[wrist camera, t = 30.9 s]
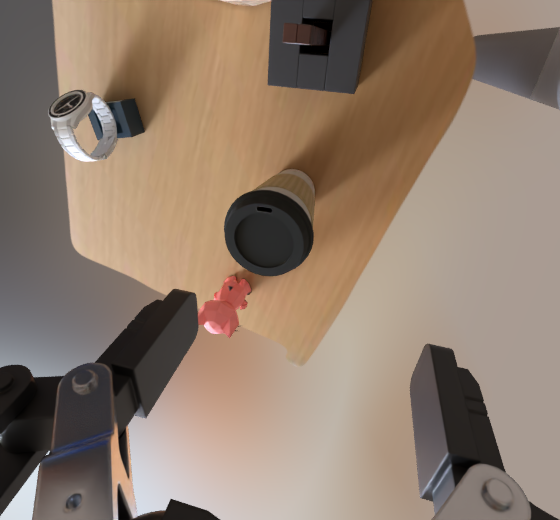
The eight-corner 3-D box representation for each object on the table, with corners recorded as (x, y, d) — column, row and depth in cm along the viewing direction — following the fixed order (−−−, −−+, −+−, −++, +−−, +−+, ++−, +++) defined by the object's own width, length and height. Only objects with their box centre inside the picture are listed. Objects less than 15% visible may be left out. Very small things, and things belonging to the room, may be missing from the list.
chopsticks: (334, 32, 37) (311, 24, 24) (332, 45, 38) (309, 45, 24) (316, 30, 37) (283, 22, 24) (315, 43, 38) (282, 42, 25)
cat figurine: (216, 292, 61) (185, 340, 51) (220, 261, 57) (187, 306, 47) (254, 304, 60) (230, 355, 50) (260, 273, 56) (236, 322, 47)
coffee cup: (258, 217, 51) (220, 272, 39) (259, 151, 46) (216, 190, 33) (323, 227, 49) (306, 288, 37) (332, 159, 44) (315, 204, 32)
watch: (129, 82, 45) (67, 91, 36) (148, 144, 49) (97, 167, 40) (94, 87, 47) (26, 97, 37) (116, 147, 51) (59, 170, 41)
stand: (374, -11, 34) (374, -22, 29) (357, 86, 39) (354, 94, 33) (289, -15, 36) (272, -27, 30) (283, 79, 41) (267, 85, 35)
